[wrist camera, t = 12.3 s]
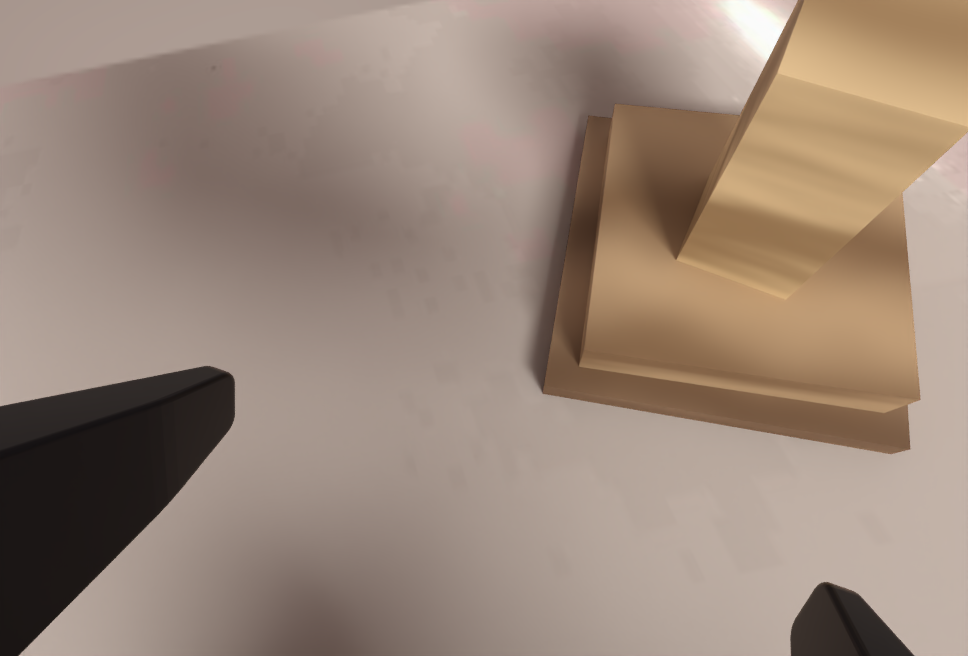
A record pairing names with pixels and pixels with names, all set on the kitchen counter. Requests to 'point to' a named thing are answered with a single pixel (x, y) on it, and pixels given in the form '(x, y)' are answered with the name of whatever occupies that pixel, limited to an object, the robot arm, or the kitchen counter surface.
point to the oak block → (831, 136)
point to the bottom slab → (674, 396)
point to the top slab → (736, 286)
